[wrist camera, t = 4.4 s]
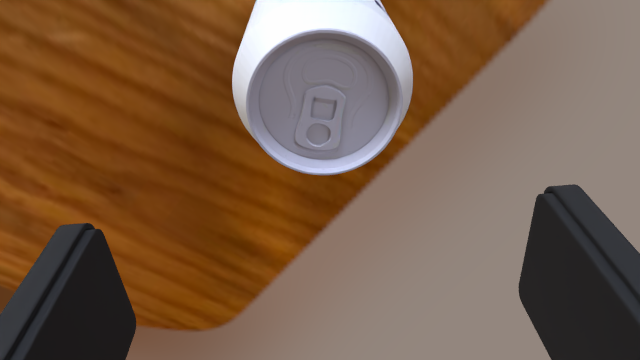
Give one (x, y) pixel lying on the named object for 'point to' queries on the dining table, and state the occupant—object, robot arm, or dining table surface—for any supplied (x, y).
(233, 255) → the dining table surface
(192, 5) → the dining table surface
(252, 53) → the beverage can
